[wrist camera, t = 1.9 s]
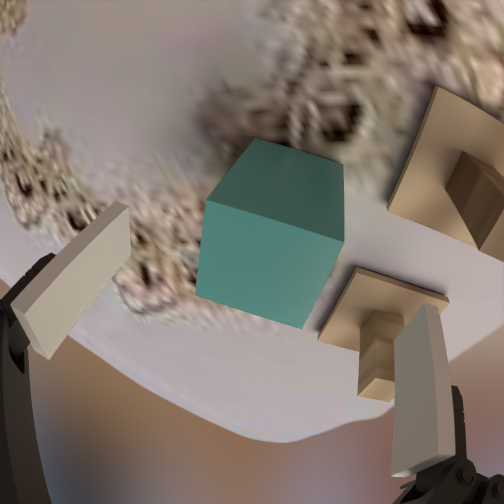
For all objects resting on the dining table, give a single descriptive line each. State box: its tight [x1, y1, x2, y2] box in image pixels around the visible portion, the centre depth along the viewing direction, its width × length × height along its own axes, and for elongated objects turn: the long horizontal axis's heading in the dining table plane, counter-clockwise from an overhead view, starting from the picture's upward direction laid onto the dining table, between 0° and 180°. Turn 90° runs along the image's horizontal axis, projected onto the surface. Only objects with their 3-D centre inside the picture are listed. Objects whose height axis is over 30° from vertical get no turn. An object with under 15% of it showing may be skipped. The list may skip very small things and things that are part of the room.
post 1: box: [317, 267, 449, 402], centre depth 21 cm, size 8×8×7 cm
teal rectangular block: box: [195, 138, 344, 329], centre depth 16 cm, size 5×5×8 cm
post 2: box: [386, 85, 504, 262], centre depth 13 cm, size 8×8×7 cm
